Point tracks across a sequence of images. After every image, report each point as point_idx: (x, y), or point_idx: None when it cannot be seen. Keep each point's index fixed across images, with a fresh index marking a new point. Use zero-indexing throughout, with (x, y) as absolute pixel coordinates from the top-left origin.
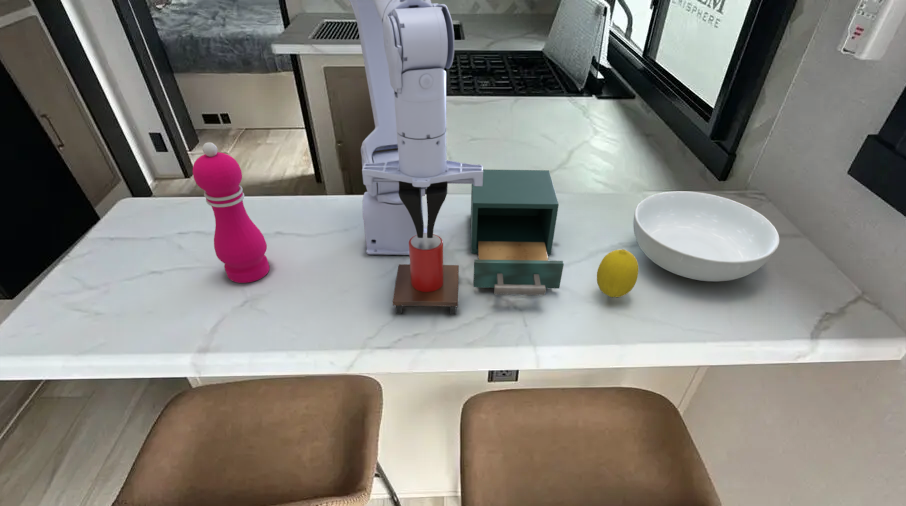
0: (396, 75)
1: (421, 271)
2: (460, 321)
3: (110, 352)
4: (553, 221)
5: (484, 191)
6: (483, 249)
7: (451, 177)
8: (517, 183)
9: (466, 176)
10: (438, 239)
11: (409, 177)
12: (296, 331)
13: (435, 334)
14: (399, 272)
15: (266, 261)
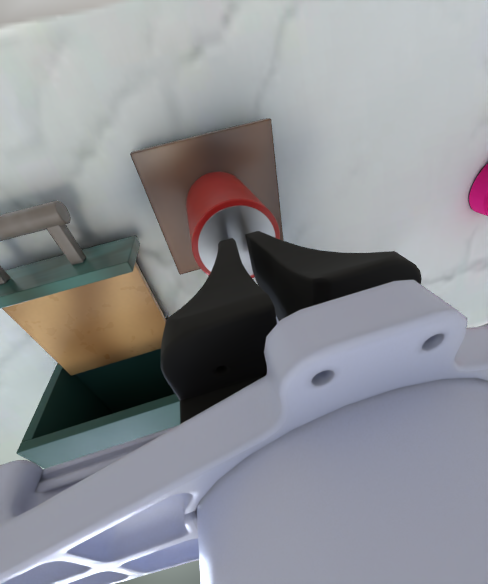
0: None
1: (227, 183)
2: (121, 131)
3: None
4: (38, 414)
5: None
6: (159, 329)
7: (118, 486)
8: None
9: (29, 525)
10: (208, 263)
11: (466, 365)
12: (437, 4)
13: (154, 64)
14: (277, 221)
15: (485, 196)
